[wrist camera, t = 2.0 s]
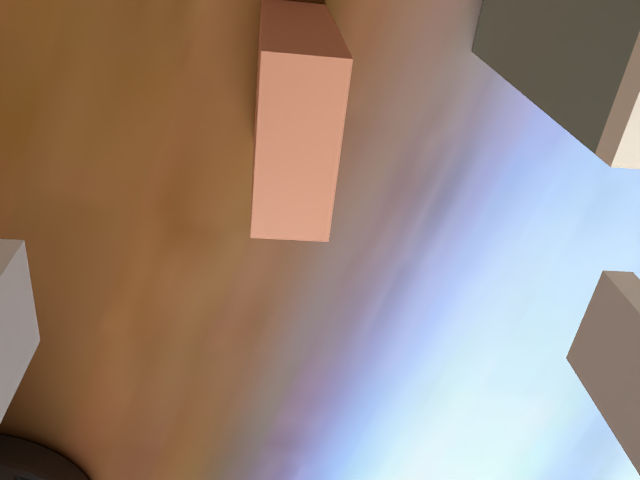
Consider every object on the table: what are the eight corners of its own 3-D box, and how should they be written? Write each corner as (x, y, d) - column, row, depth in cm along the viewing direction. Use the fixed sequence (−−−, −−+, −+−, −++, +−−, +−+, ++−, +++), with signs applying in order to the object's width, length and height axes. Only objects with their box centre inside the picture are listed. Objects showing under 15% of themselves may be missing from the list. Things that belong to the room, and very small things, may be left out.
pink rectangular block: (253, 140, 31) (250, 237, 23) (261, -2, 28) (261, 50, 19) (310, 144, 32) (328, 241, 23) (325, 4, 28) (352, 59, 20)
